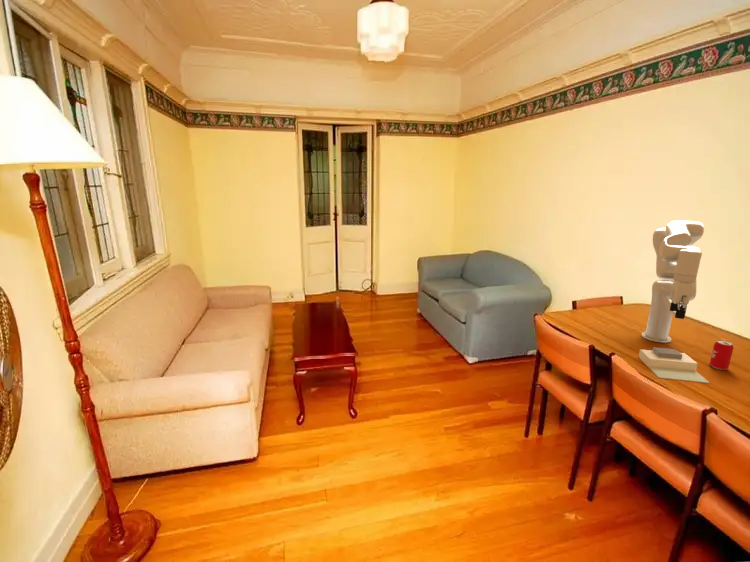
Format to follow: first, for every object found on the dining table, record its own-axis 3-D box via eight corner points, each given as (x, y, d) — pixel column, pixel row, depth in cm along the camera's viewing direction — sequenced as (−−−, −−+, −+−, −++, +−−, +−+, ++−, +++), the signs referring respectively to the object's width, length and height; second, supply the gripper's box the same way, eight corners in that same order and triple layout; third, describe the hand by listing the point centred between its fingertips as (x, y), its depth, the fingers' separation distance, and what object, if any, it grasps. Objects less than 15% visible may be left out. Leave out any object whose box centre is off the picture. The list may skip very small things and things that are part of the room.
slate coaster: (652, 351, 171) (652, 347, 171) (674, 353, 169) (675, 349, 169) (658, 356, 166) (659, 352, 165) (681, 359, 163) (682, 354, 163)
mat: (648, 367, 165) (648, 366, 164) (696, 372, 160) (696, 371, 160) (658, 378, 156) (658, 377, 155) (709, 383, 151) (709, 382, 151)
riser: (638, 357, 174) (640, 349, 173) (683, 361, 170) (685, 353, 169) (648, 367, 165) (649, 358, 164) (695, 371, 161) (697, 363, 160)
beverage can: (718, 363, 167) (724, 339, 164) (731, 370, 161) (738, 345, 158) (705, 364, 167) (711, 339, 164) (718, 370, 161) (724, 345, 158)
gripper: (669, 272, 170) (662, 307, 174) (679, 281, 155) (670, 319, 160) (690, 273, 166) (682, 309, 171) (701, 283, 152) (692, 322, 156)
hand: (676, 314), depth 165 cm, fingers open, 9 cm apart
